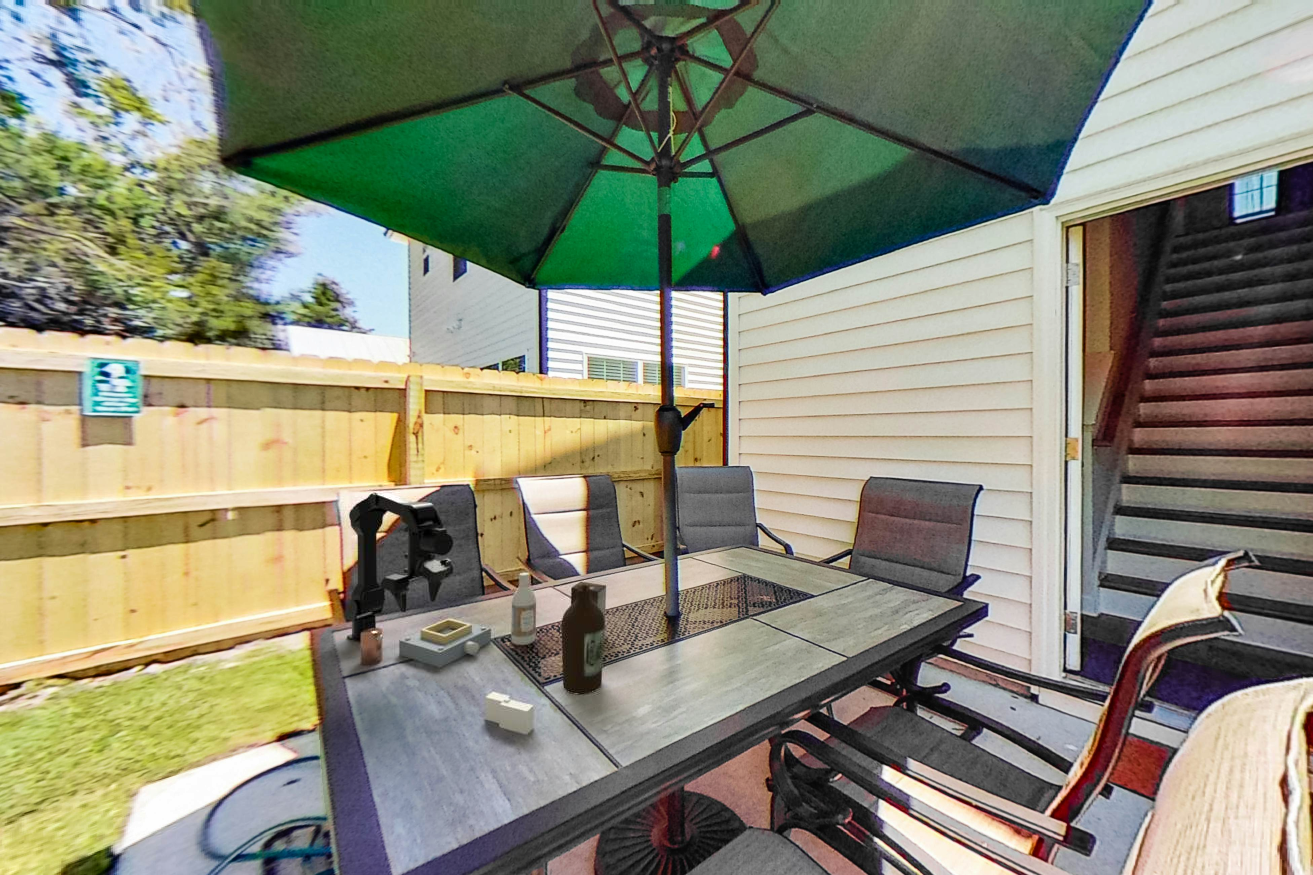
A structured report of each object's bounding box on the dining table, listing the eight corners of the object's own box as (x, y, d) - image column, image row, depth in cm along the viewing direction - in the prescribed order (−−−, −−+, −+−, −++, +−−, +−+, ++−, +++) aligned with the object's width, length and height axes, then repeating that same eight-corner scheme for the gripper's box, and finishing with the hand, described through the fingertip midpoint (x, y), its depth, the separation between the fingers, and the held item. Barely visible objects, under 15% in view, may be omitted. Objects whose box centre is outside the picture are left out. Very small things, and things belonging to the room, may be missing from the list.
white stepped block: (546, 734, 103) (546, 707, 103) (489, 752, 97) (490, 723, 97) (525, 700, 116) (525, 676, 116) (474, 714, 110) (474, 688, 110)
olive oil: (551, 686, 121) (552, 585, 121) (581, 670, 130) (583, 575, 129) (583, 701, 115) (584, 593, 115) (612, 682, 124) (614, 582, 123)
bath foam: (515, 647, 142) (516, 578, 142) (508, 639, 148) (509, 572, 148) (538, 642, 146) (539, 574, 146) (530, 634, 152) (531, 569, 152)
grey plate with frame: (399, 654, 137) (399, 632, 137) (452, 631, 153) (452, 611, 153) (448, 670, 129) (448, 647, 129) (498, 643, 145) (498, 623, 145)
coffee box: (568, 640, 148) (569, 587, 147) (579, 632, 154) (579, 581, 153) (596, 645, 145) (597, 590, 144) (606, 637, 151) (606, 584, 150)
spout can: (356, 663, 132) (356, 633, 132) (374, 655, 136) (374, 626, 136) (373, 668, 129) (373, 638, 129) (390, 660, 133) (390, 631, 133)
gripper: (409, 562, 123) (408, 624, 124) (467, 546, 140) (466, 601, 140) (380, 555, 128) (379, 615, 128) (439, 541, 145) (438, 594, 145)
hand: (418, 606), depth 135 cm, fingers open, 9 cm apart
